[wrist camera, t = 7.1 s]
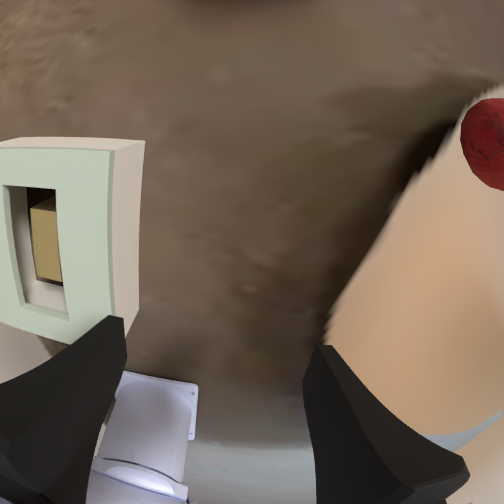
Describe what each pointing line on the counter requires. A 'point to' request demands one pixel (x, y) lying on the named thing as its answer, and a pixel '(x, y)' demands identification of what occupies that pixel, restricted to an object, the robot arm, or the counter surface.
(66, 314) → the box
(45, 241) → the tan rectangular block
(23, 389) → the robot arm
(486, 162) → the onion
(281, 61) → the counter surface
